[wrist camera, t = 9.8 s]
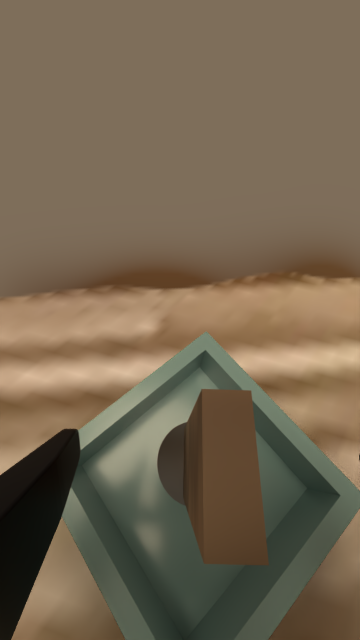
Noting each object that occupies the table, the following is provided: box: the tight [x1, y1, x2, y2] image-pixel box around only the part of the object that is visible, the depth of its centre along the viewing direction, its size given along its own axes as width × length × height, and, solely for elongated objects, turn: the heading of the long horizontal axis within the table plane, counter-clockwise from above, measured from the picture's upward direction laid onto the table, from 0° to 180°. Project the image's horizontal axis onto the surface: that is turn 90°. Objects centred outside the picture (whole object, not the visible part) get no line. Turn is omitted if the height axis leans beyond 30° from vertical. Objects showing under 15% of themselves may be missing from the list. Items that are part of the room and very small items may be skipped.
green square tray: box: [62, 332, 360, 640], centre depth 17 cm, size 13×13×5 cm
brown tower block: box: [157, 389, 269, 565], centre depth 13 cm, size 5×5×13 cm
